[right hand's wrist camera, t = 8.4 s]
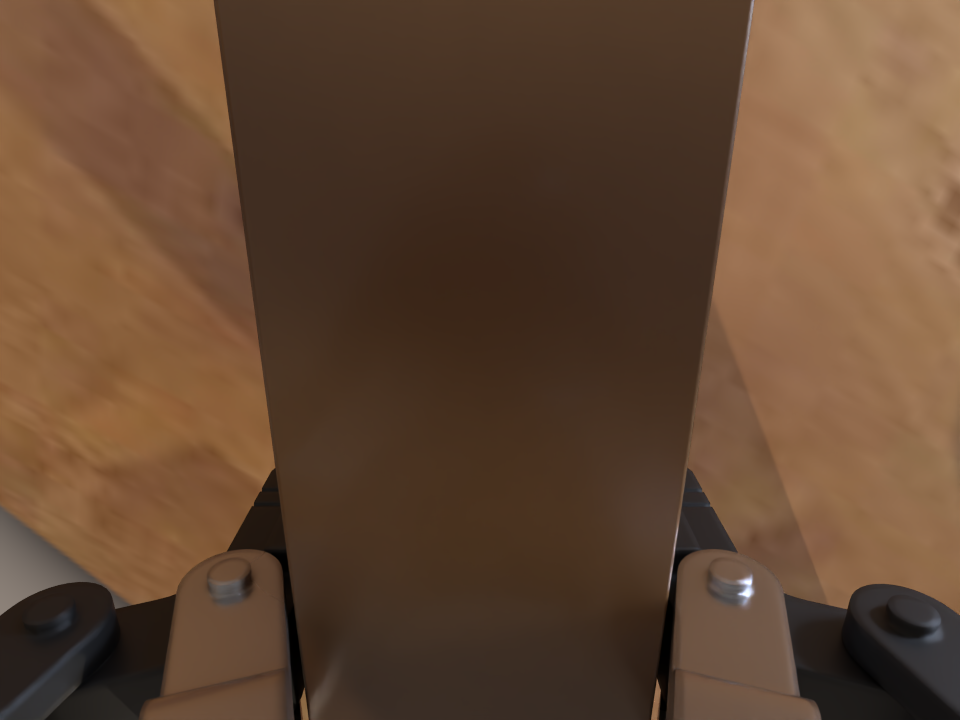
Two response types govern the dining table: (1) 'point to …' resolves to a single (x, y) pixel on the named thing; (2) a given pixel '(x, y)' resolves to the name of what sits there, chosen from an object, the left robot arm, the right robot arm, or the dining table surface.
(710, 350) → the dining table surface
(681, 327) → the beam
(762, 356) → the dining table surface
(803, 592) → the dining table surface
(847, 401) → the dining table surface
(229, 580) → the right robot arm
